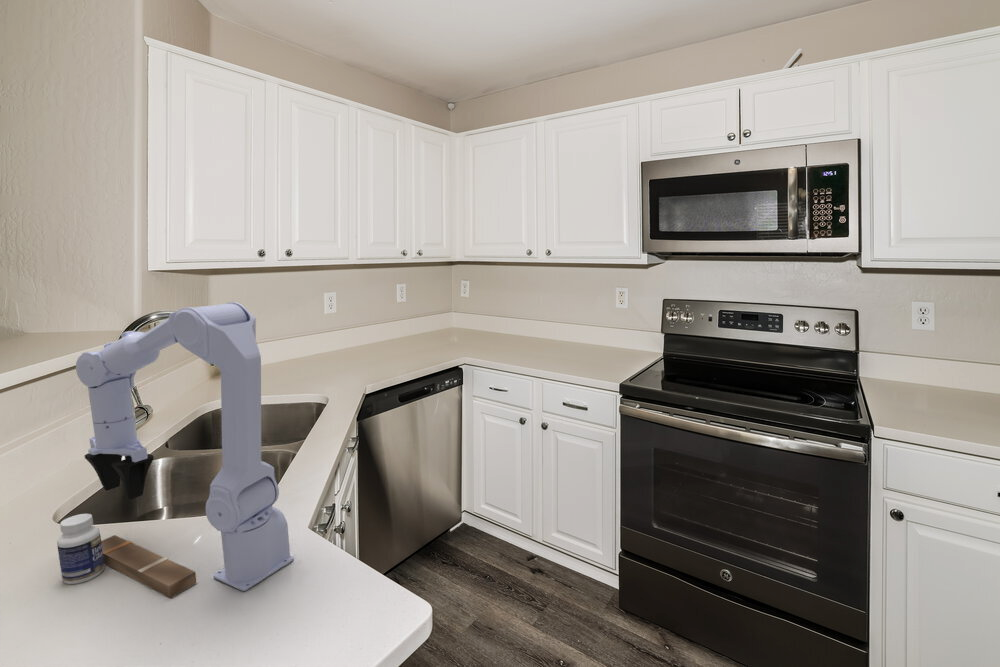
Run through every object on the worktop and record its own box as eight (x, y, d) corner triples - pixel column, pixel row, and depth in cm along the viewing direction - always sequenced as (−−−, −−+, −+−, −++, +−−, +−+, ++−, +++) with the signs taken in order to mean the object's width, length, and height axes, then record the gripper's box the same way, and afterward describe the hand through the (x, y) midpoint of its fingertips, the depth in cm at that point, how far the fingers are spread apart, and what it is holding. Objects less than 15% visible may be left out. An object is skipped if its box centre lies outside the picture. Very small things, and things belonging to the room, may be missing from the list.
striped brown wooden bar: (116, 545, 91) (115, 534, 91) (196, 583, 80) (195, 570, 80) (90, 557, 88) (88, 545, 88) (170, 598, 77) (168, 585, 76)
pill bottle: (103, 577, 82) (95, 521, 81) (59, 589, 79) (50, 531, 78) (106, 561, 87) (99, 508, 85) (66, 572, 84) (57, 517, 82)
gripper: (65, 419, 87) (76, 493, 89) (109, 431, 80) (120, 511, 82) (111, 408, 93) (121, 478, 95) (156, 419, 87) (165, 493, 89)
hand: (123, 492), depth 89 cm, fingers open, 7 cm apart
